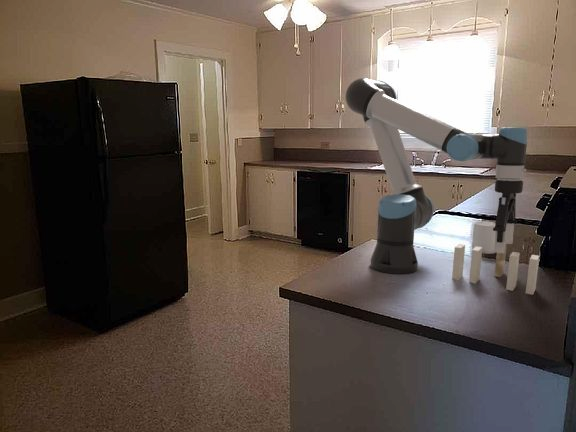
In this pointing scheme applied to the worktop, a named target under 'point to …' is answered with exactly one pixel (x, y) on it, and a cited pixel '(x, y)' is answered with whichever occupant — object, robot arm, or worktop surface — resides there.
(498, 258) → the tile
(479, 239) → the mug
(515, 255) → the tile
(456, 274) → the tile
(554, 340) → the worktop surface
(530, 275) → the tile
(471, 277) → the tile
